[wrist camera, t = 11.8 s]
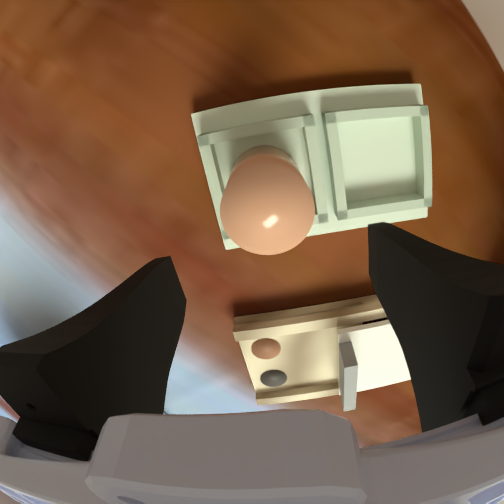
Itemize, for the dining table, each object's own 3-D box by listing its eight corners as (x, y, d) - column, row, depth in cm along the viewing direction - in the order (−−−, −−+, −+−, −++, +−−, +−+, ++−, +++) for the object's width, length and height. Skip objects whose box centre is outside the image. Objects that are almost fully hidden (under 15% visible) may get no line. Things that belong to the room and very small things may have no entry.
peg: (290, 138, 18) (305, 156, 12) (304, 201, 19) (321, 244, 14) (223, 154, 18) (208, 178, 13) (240, 215, 20) (234, 262, 15)
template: (437, 281, 23) (446, 293, 22) (422, 360, 28) (427, 373, 26) (234, 317, 25) (232, 332, 24) (258, 390, 30) (257, 405, 28)
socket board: (413, 83, 16) (429, 84, 14) (421, 211, 20) (434, 224, 18) (194, 113, 18) (186, 115, 16) (227, 242, 22) (223, 259, 20)
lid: (449, 305, 22) (464, 329, 19) (433, 368, 25) (443, 391, 23) (336, 329, 23) (344, 358, 20) (338, 390, 27) (343, 417, 24)
